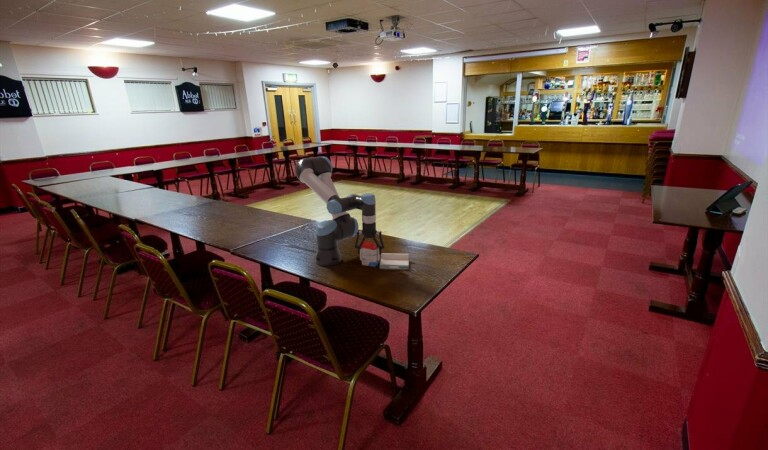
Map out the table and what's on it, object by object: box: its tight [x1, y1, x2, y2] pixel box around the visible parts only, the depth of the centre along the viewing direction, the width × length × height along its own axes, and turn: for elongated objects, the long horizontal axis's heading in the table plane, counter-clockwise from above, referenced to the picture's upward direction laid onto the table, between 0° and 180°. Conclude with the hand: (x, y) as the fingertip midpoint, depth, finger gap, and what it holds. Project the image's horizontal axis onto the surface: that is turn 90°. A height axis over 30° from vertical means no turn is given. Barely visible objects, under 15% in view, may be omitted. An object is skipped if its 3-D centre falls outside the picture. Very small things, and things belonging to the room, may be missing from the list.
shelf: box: [379, 252, 410, 271], centre depth 205 cm, size 16×12×4 cm
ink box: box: [361, 240, 379, 268], centre depth 205 cm, size 8×5×15 cm, turn 65°
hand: (369, 259), depth 206 cm, fingers closed on ink box, 9 cm apart
